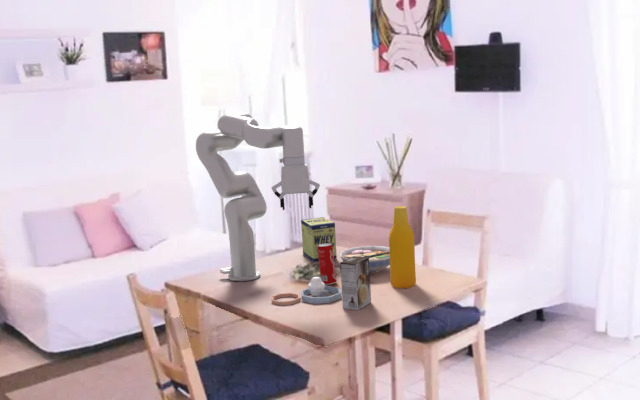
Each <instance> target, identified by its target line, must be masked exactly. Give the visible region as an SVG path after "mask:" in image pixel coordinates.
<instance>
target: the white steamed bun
mask: <svg viewBox="0 0 640 400" xmlns="http://www.w3.org/2000/svg"><path fill="white" fill-rule="evenodd" d="M325 286H326V285H325V284H324V283H323V282H322V281H321V276H313V277H312V278H311V280H310V282H309V283H308V284H307V288H309V291H310V292H311V295H312V296H311V297H319V293H320V292H321V291H322V290H324V288H325Z"/></svg>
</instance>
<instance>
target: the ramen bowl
mask: <svg viewBox="0 0 640 400" xmlns="http://www.w3.org/2000/svg"><path fill="white" fill-rule="evenodd" d="M339 256H340V258H341V260H342V261H344V260H346V259H348V258H350V257H353V256H357V257H369V270H370V274H374V273H378V272H379V271H381V270H384V269H386V268H387V267H390V253H389V247H388V246H384V245H380V246H379V245H365V246H364V245H363V246H356V247H351V248H347V249H343V250H342V251H341V252H339Z"/></svg>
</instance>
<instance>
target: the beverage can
mask: <svg viewBox="0 0 640 400" xmlns="http://www.w3.org/2000/svg"><path fill="white" fill-rule="evenodd" d="M318 258H319V261H318V265H319V273H320V278H321V281H322V282H323V283H324V284H325V286H330V285H334V284H336V283H337V273H336V266H335V259H334V254H333V247H332V244H331V243H323V244H319V245H318Z"/></svg>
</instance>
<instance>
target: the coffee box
mask: <svg viewBox="0 0 640 400" xmlns="http://www.w3.org/2000/svg"><path fill="white" fill-rule="evenodd" d="M339 266H340V284H341V300H342V301H341V303H342V309H346V310H354V311H360V310H361V309H362V308H364V307H366V306H369V304H371V303H372V294H371V293H372V292H371V291H372V289H371V275H370V274H371V273H370V270H369V257H357V256H353V257H350V258H348V259H346V260H344V261H343V260H342V261H341V262H339Z"/></svg>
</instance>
